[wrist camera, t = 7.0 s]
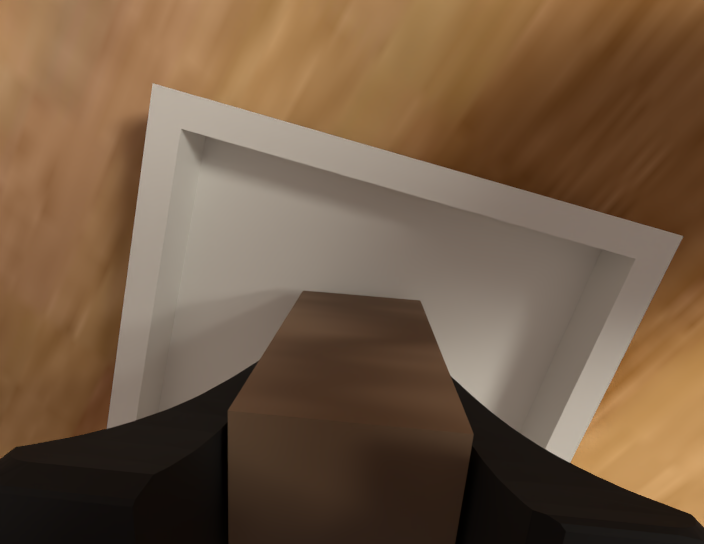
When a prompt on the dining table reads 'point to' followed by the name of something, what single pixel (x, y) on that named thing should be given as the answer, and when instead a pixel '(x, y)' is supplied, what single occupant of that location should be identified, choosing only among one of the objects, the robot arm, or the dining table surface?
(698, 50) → the dining table surface
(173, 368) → the tray
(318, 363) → the walnut block
